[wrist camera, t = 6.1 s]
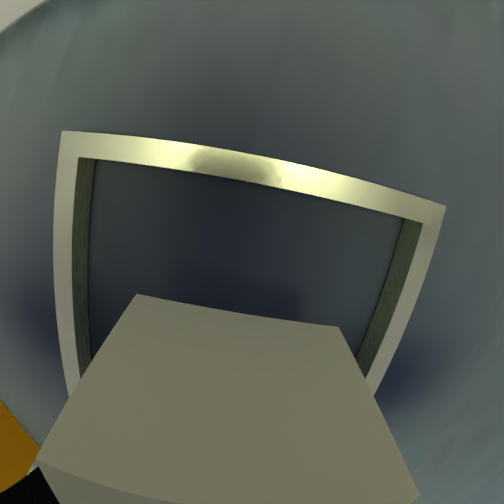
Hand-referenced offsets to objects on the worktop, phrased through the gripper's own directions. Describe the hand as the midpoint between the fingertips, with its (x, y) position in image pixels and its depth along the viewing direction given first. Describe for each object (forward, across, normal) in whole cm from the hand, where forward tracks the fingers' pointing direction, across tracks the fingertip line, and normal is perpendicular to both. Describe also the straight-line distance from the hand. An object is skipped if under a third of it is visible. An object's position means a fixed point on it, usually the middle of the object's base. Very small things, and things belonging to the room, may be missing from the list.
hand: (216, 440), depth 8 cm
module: (+1, 0, 0) cm, 1 cm away
